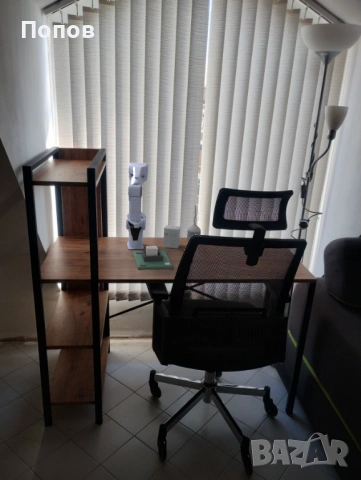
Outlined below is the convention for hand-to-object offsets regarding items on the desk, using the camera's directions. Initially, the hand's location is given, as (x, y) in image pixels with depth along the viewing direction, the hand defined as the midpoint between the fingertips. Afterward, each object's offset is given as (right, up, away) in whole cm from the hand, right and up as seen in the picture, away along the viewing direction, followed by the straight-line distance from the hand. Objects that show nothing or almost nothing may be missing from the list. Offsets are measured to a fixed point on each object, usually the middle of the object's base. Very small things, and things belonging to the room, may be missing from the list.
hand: (134, 237), depth 189 cm
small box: (+17, -4, +19) cm, 26 cm away
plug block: (+8, -10, -1) cm, 13 cm away
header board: (+8, -11, 0) cm, 14 cm away
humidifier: (+28, -8, +12) cm, 32 cm away
